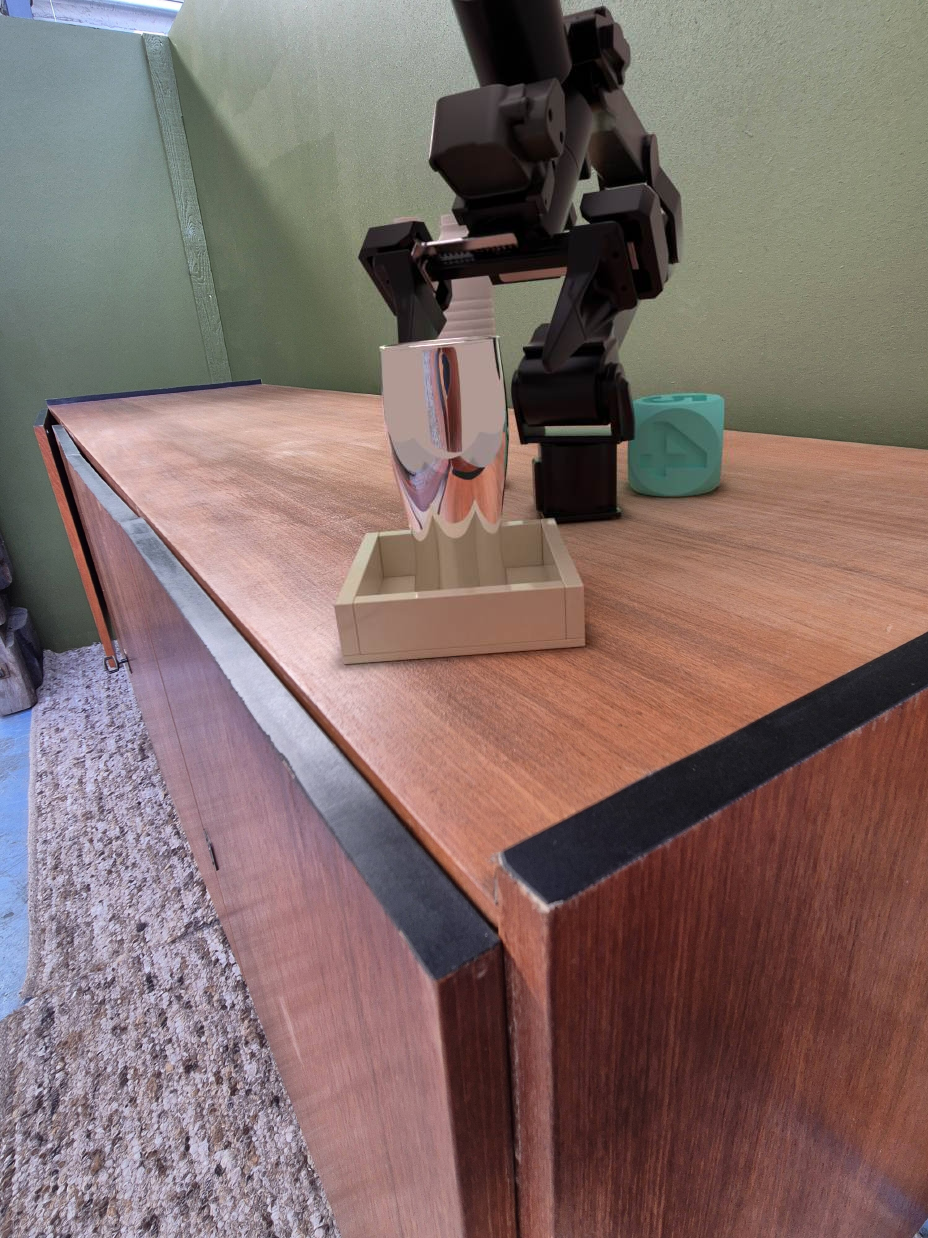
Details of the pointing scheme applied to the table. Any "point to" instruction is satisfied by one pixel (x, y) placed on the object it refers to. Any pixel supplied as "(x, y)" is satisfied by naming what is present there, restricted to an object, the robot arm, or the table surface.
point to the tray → (461, 601)
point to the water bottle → (465, 293)
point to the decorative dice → (676, 444)
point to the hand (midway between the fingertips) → (472, 371)
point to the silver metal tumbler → (449, 455)
